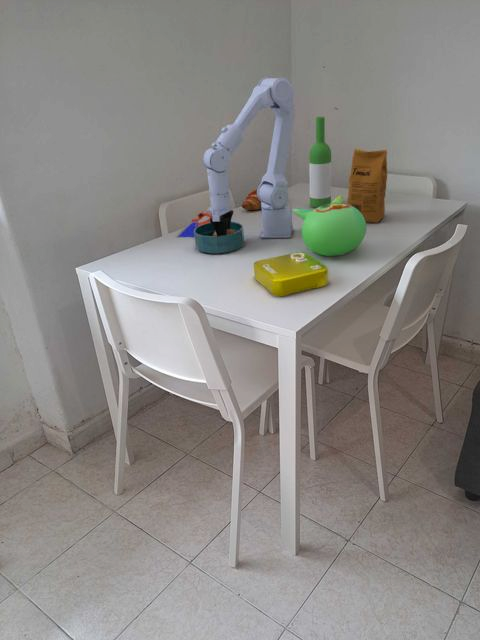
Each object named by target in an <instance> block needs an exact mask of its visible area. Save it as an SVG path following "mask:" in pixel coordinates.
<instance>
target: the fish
mask: <svg viewBox="0 0 480 640" xmlns="http://www.w3.org/2000/svg"><path fill="white" fill-rule="evenodd" d="M196 217H197V218H193V219H191V223H190V224H189V225H188V226H187V227H186V228H185V229H184V230H183V231H182V232H181V233H180V234H179V235H178V236H177V237H178V238H195V236H194V229H195V228H196V227H198V226H200V225H203V224H206V223H211V222H210V218H211V217H212V213H209V211H204V210H202V211H200V212H199V214H197V215H196Z"/></svg>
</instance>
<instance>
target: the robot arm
mask: <svg viewBox="0 0 480 640" xmlns="http://www.w3.org/2000/svg"><path fill="white" fill-rule="evenodd" d="M294 94H295V89H294V87H293V86H292V84H291V83H290V81H289V80H288V79H287V78H285V77H276V78H275V77H263V78H262V79H260V80H259V81H258V84H257V85H256V86H255V87H254V88H253V89H252V93H251V94H250V97H249V98H248V100H247V101H246V103H245V105H244V106H243V108H242V110H241V111H240V113H239V114H238V116H237V117H236V119H235V121H234V122H233V123H232V124H227V125H226V126H223V127H221V129H220V130H221V134H219V136H218V138H217V139H216V140H215V142H212V144H211V147H210V148H208V149H206V151H205V152H204V154H203V158H202V160H201V161H202V164H203V166H204V167H205V169H206V173H207V182H208V183H207V184H208V192H209V193H208V194H209V200H210V206H209V207H207V212H211V214H212V217H211V218H210V222H211V224H212V225H213V227H214V229H215V231H216V234H217V236H223V235H227V229H230V223H231V221H232V218H233V216H234V210H232V206H231V196H230V187H229V176H228V168H229V167H230V164H231V157H232V156H233V155H234V153H235V152H236V151H237V149H238V147H239V146H240V145H241V143H242V142H243V141H244V132H245V130H246V129H247V128H248V127H249V126H250V124H251V123H252V121H253V120H254V119H255V118H256V116H257V115H258V114H259V113H260V111H261V110H263V109H266V108H270V110H271V111H272V113H273V114H274V116H275V120H274V125H273V126H274V128H273V131H272V132H273V134H272V138H271V145H270V150H269V155H268V156H269V157H268V163H267V169H266V173H264V175H263V176H262V177H261V182H260V184H259V186H258V187H257V188H256V189H257V197H258V199H259V200H260V201H261V207H262V209H261V220H262V221H261V222H262V232H261V234H260V238H261V239H282V238H283V239H286V238H289V239H290V238H291V236H292V233H293V231H294V229H293V227H294V224H293V209H292V206H291V205H287V203H288V200H289V191H288V187H289V183H288V181H287V178H286V176H285V175H286V169H287V164H288V157H289V153H290V147H291V141H292V136H293V130H294V126H295V120H296V114H297V113H296V112H297V110H296V106H295V100H294Z"/></svg>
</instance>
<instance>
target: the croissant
mask: <svg viewBox="0 0 480 640" xmlns="http://www.w3.org/2000/svg"><path fill="white" fill-rule="evenodd" d="M257 189H258V188H255V189H253V190H250V191H249V192H248V194H247V196H246V198H245V200H244V201H243V202H242V204H241V207H242V209H244V210H247V211H258V210H262V207H261V201H260V200H259V199H258V197H257Z"/></svg>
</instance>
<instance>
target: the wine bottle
mask: <svg viewBox="0 0 480 640" xmlns="http://www.w3.org/2000/svg"><path fill="white" fill-rule="evenodd" d="M325 120H326V119H325V116H316V117H315V143H314V144H313V145H312V146H311V147H310V149H309V152H308V153H309V155H308V157H309V159H308V161H309V163H308V166H309V169H308V170H309V172H308V173H309V205H310V206H311V207H312V208H315V209H316V208H318V207H320V206H323V205H327V204H331V203H332V150H331V148H330V145H328V144H327V143H326V141H325V140H326V139H325V138H326V137H325V135H326V133H325V130H326V129H325V122H326V121H325Z"/></svg>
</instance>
